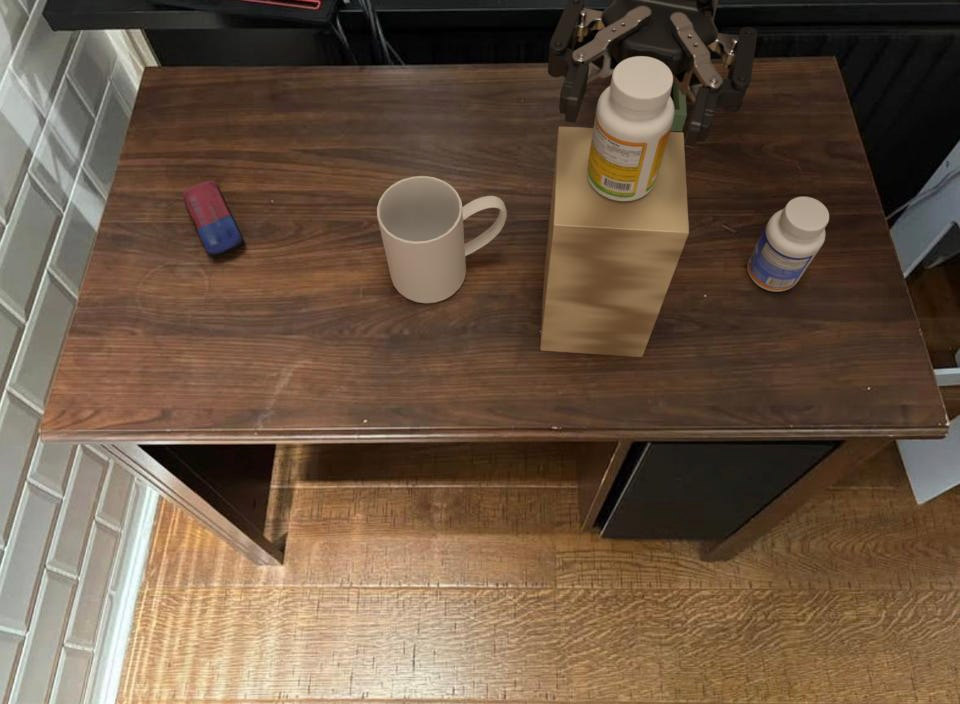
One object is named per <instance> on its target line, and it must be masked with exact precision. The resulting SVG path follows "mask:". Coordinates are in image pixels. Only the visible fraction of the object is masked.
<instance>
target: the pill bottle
mask: <svg viewBox="0 0 960 704" xmlns="http://www.w3.org/2000/svg"><path fill="white" fill-rule="evenodd" d="M829 221H830V213H829V210H828V208H827V206H825V204H824V203H822V202H821V201H820V200H818V199H816V198H814V197H810V196H797V197H794V198H792V199H790V200H789V201H788V202H787V204H786V205H785V207H784V208H782V209H780V210H778V211H776V212H775V213H774V214H773V215H772V216H771V217H770V218H769V220H768V222H767V224H766V226H765V227H764V229H763V231H762V233H761V235H760V237H759V239H758V240H757V242H756V244H755V245H754V248H753V250H752V252H751V254H750V256H749V258H748V260H747V264H746V265H747V266H746V267H747V268H746V269H747V273H748V276H749V278H750V279H751V280H752V281H753V283H754V284H756V285H757V286H758V287H759V288H761V289H763V290H766V291H768V292H775V293H777V292H785V291H787V290H790V289H792V288H794V286H796V284H798V282H799V281H800V279H801V278H802V277H803V275H804V274H805V272H806V270H807V269H808V267H809V266H810V264H811V262H812V261H813V260H814V258H815V257H816V255H817V254H818V252H819V251H820V250H821V248H822V247H823V245H824V243H825V241H826V227H827V225H828V224H829Z"/></svg>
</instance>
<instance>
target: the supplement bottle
mask: <svg viewBox="0 0 960 704" xmlns="http://www.w3.org/2000/svg"><path fill="white" fill-rule="evenodd" d="M672 84H673V75H672V72H671V70H670V69H669V68H668V66H667V65H665V64H664V63H663V62H661V61H659V60H657V59H655V58H651V57H646V56H636V57H631V58H628V59H625V60H623V61H622V62H620V63H619V64H618V65H617V66H616V67H615V69H614V71H613V74H612V75H611V80H610V84H609V86H607V87H606V88H605V89H604V90H603V91H602V92H601V94H600V96H599V98H598V100H597V104H596V107H595V108H596V109H595V115H594V122H593V127H592V128H593V134H592V140H591V147H590V153H589V160H588V168H587V175H588V179H589V182H590V184H591V185H592V187H593V188H594V189H595V190H596V191H597V192H598V193H599V194H601V195H603V196H605V197H607V198H609V199H612V200H616V201H632V200H636V199H639V198H641V197H643V196H645V195H646V194H647V193H649V192H650V190H651V189H652V188H653V187H654V185H655V183H656V180H657V177H658V174H659V170H660V166H661V163H662V159H663V155H664V152H665V148H666V145H667V142H668V138H669V134H670V132H672V131H671V127H672V123H673V119H674V114H675V108H674V100H673V98H672V97H671V93H672V89H673V87H672Z"/></svg>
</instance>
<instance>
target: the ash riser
mask: <svg viewBox="0 0 960 704" xmlns="http://www.w3.org/2000/svg"><path fill="white" fill-rule="evenodd" d="M593 128H594V127H579V126H558V127H557V139H556V149H555V159H554V169H553V178H552V188H551V198H550V209H549V210H550V211H549V219H548V228H547V238H546V247H545V248H546V249H545V257H544V268H543V269H544V271H543V287H542V288H543V289H542V305H541V306H542V307H541V308H542V309H541V324H540V325H541V326H540V343H539V344H540V346H539V350H540V351H541V352H556V353H557V352H558V353H571V354H586V355H587V354H588V355H601V356H616V357H617V356H618V357H632V358H643V357H644V354H645V352H646V348H647V346H648V344H649V341H650V338H651V335H652V332H653V330H654V327H655V324H656V322H657V319H658V318H659V314H660V312H661V308H662V306H663V303H664V302H665V301H664V300H665V298H666V294H667V293H668V289H669V287H670V285H671V282H672V279H673V277H674V274H675V271H676V268H677V266H678V263H679V260H680V258H681V255H682V253H683V250H684V247H685V244H686V242H687V239H688V237H689V233H690V224H689V222H690V221H689V207H688V206H689V205H688V190H687V189H688V188H687V171H686V169H687V168H686V151H685V150H686V149H685V146H684V143H685V135H684V132H683V131H670V134H669V138H668V142H667V145H666V148H665V152H664V155H663V159H662V163H661V166H660V170H659V174H658V177H657V180H656V183H655V185H654V187H653V188H652V189H651V190H650V192H649V193H647V194H646V195H645V196H643V197H641V198H639V199H636V200H632V201H616V200H612V199H609V198H607V197H605V196H603V195H601V194H599V193H598V192H597V191H596V190H595V189H594V188H593V187H592V185H591V184H590V182H589V179H588V175H587V168H588V160H589V153H590V147H591V140H592V134H593Z"/></svg>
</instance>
